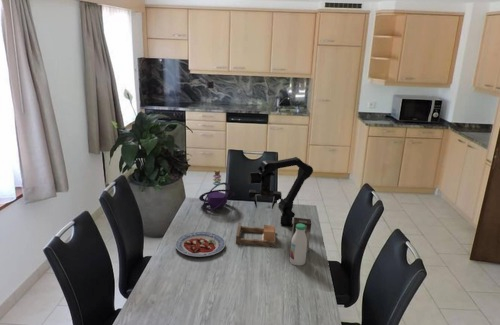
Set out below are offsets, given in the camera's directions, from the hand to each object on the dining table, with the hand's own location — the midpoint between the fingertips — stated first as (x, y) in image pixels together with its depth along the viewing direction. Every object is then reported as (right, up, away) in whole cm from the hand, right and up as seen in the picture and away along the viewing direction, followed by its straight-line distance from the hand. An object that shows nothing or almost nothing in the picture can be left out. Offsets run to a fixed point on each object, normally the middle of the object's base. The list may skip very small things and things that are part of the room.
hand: (264, 208), depth 221 cm
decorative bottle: (-30, -3, +28) cm, 41 cm away
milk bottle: (+15, -23, -32) cm, 42 cm away
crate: (+2, -15, -10) cm, 19 cm away
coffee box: (+18, -19, -18) cm, 32 cm away
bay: (-4, -15, -10) cm, 19 cm away
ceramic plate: (-34, -18, -22) cm, 44 cm away
